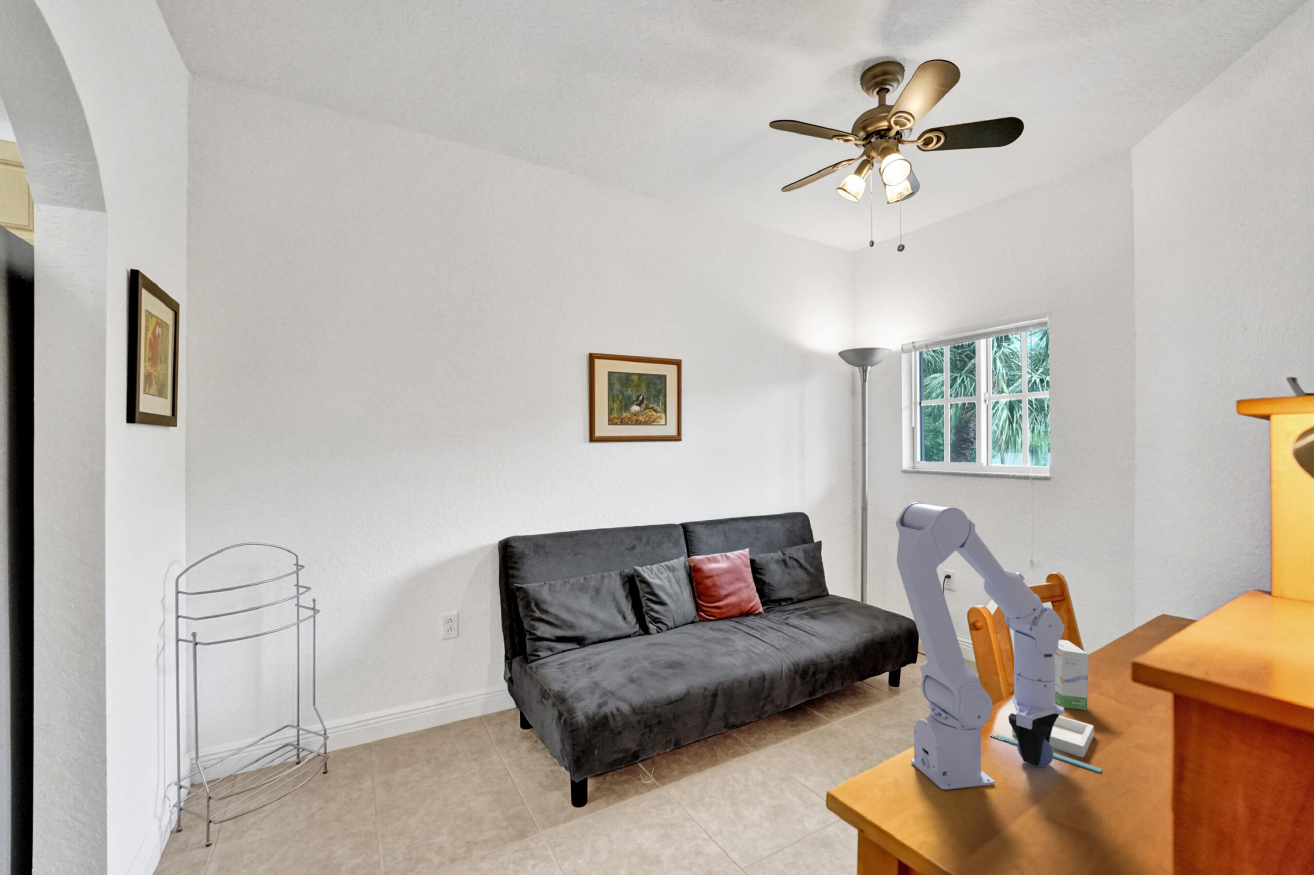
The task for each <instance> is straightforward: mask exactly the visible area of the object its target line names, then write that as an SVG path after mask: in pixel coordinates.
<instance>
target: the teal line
mask: <svg viewBox="0 0 1314 875" xmlns="http://www.w3.org/2000/svg"><path fill="white" fill-rule="evenodd" d="M992 736H993V735H992ZM994 737H997V738H1000V739H1003V740H1004V741H1003V742H1005V741H1007V742H1006V743H1008V742H1010V743H1009V744H1011V743H1012V744H1011V745H1014V746H1017V743H1018V740H1017V739H1014V738H1013V739H1012V738H1010V737H1006V736H1003V735H1000V734H998V735H996V736H994ZM1053 758H1054V759H1056V760H1059V761H1062V762H1066V763H1068V764H1071V765H1073V766H1074V765H1075V766H1078V767H1080V768H1083V769H1085V770H1088V771H1091V772H1095V773H1098V774H1102V768H1101V767H1097V766H1095V765H1092V764H1089V763H1085V762H1082V761H1079V760H1076V759H1073V758H1070V757H1068V756H1064V755H1061V754H1058V753H1054V752H1053Z"/></svg>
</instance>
